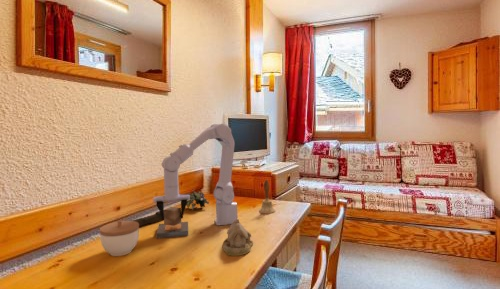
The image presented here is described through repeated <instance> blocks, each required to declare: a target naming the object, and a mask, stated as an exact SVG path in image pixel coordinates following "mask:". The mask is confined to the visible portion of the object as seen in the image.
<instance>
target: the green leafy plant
mask: <svg viewBox="0 0 500 289" xmlns="http://www.w3.org/2000/svg"><path fill="white" fill-rule="evenodd" d="M187 195H190V200H187V204H186V208H187V207H188V208H187V209H189V208H190V206H191V209H190V210H191V211H190V212H192V211H193V210H194V208H195V207H196V205H199V206H200V208H201V207H203V208H206V205H207V204H208V205H209V204H210V201H208V198H206V197H205V193H203V192H201V191H197V192H196V191H193V192H192V193H189V192H188V193H187ZM194 201H195V202H194ZM205 204H206V205H205Z"/></svg>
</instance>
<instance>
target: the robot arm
mask: <svg viewBox="0 0 500 289" xmlns="http://www.w3.org/2000/svg"><path fill="white" fill-rule="evenodd" d="M213 139H214V140H216V141H217V142H218V143H219V144H220V145H221V156H220V166H219V176H218V181H217V183H216V185H215V188H214V189H213V194H212V195H213V197H214V199H215V214H216V215H215V218H214V222H215V226H226V225H227V226H228V225H232V223H233V222H234V221H235V220H239V219H238V204H237V202H236V201H234V199H235V193H234V186H233V183H232V174H233V163H234V155H235V154H234V153H235V146H236V145H235V143H236V142H235V139H234V137H233V134H232V128H231V127H230V126H229V125H227V123H214V124H211V125H210V126H209V127H207V128H205V129H204V130H203V131H202V132H201V133H200V134H199V135H198V136H196V137H195V138H194V139H193V140H192V141H190V142H189V144H186V143H184V144H180V145H178V149H176V150H175V151H174V152H171V153H169V156H165V157H164V158H163V160H162V163H161V166H162V168H163V185H164V195H161V196H154V197H153V198H152V200H153V201H152V202H153V204H155V205H156V207H157V209H158V211H160V213H161V216H162V220H163V221H164V210H165V209H164V207H165V206H164V204H165V203H166V202H167V203H168V202H179V201H180V208H181V220H183V218H184V213H185V209H186V208H187V205H186V204H187V201H189V200H190V195H188V194H180V187H179V185H180V184H179V168H180V166H181V165H182V164H183V163H184V162H186V161H187V160H188V159H189V158H191V157H192V156H194V152H195V150H196V149H198V148H199V147H200V146H202V145H203V144H204V143H205V142H207V141H208V140H213Z"/></svg>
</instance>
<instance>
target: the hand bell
mask: <svg viewBox="0 0 500 289" xmlns="http://www.w3.org/2000/svg"><path fill="white" fill-rule="evenodd" d="M263 190H264V192H265V193H264V194H265V195H264V196H265V198H264V200H262V203H261V204H262V205H261V207H260V209H259V210H258V213H260V214H264V215H265V214H274V213H275V212H276V209H275V208H274V207H273V204H272V200H271V199H270V197H269V190H270V183H269V180H268V179H264V184H263Z"/></svg>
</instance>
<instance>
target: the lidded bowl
mask: <svg viewBox="0 0 500 289" xmlns="http://www.w3.org/2000/svg"><path fill="white" fill-rule="evenodd" d="M99 235H100V236H99V237H100V238H99V239H100V243H101V246H102V248H103V250H104V251H105V252H107V253H108V254H109V255H110V256H112V257H121V256H125V255H127V254H130V253H131V252H132V251H133V249H134V248H136V246H137V244H138V241H139V236H140V226H139V223H138V222H135V221H130V220H120V219H119V220H117V221H114V222H110V223H107V224H105V225H103V226H101V227H100V228H99Z"/></svg>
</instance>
